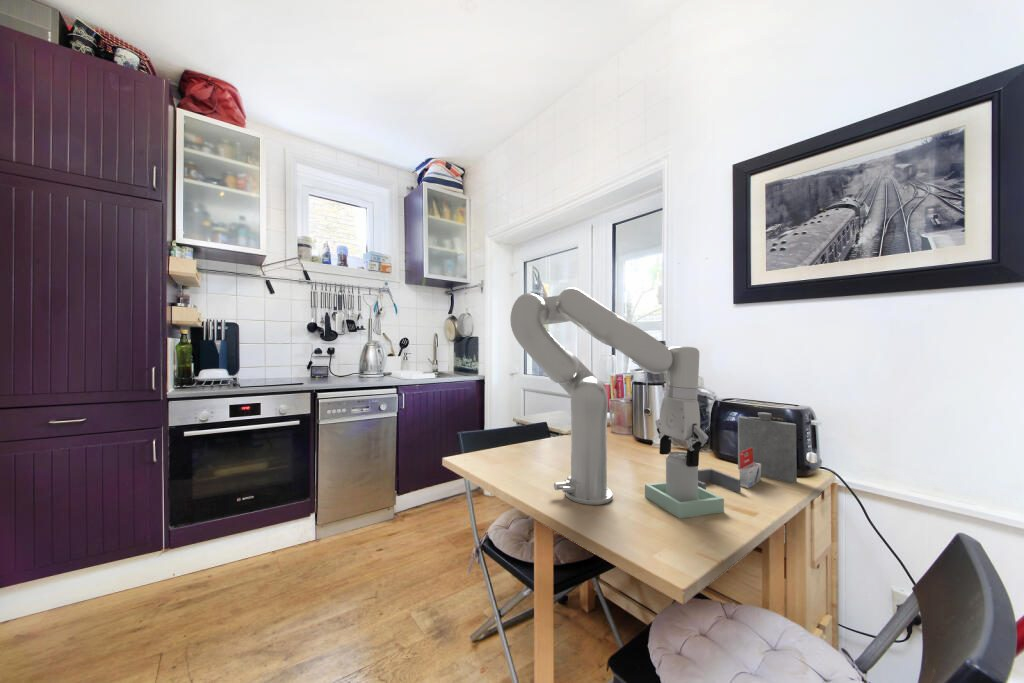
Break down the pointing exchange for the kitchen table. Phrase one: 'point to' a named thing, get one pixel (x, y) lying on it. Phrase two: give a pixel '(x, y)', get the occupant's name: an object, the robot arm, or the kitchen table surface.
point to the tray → (702, 506)
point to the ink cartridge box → (749, 469)
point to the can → (681, 478)
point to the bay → (718, 479)
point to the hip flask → (769, 445)
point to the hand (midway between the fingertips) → (677, 459)
